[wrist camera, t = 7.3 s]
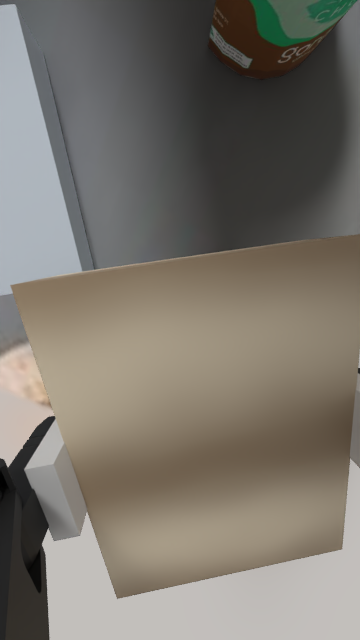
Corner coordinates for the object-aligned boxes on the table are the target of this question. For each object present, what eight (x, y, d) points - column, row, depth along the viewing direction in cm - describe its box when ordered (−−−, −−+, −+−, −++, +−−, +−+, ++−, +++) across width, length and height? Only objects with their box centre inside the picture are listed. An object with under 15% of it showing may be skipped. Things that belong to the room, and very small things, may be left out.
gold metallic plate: (60, 274, 8) (9, 285, 5) (300, 240, 9) (369, 233, 6) (126, 514, 12) (117, 598, 9) (298, 479, 12) (342, 549, 9)
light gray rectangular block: (-57, 63, 14) (-112, 14, 11) (43, 53, 14) (15, 4, 12) (18, 289, 18) (-8, 296, 15) (96, 278, 18) (85, 283, 16)
